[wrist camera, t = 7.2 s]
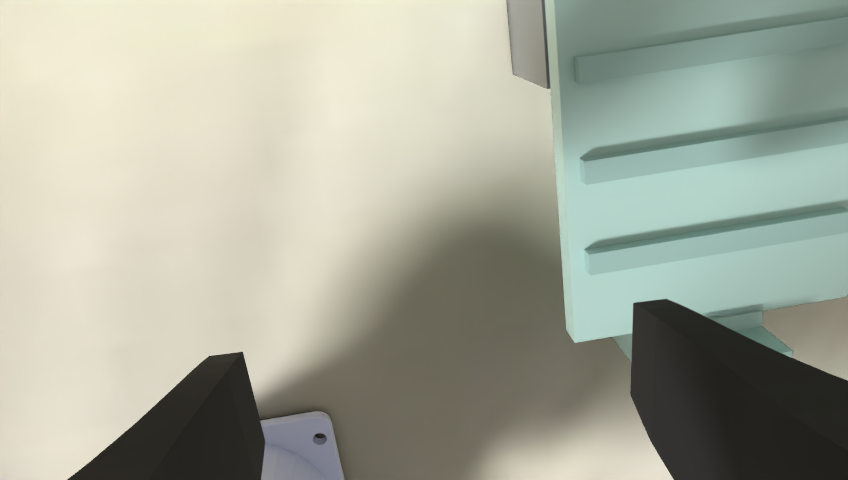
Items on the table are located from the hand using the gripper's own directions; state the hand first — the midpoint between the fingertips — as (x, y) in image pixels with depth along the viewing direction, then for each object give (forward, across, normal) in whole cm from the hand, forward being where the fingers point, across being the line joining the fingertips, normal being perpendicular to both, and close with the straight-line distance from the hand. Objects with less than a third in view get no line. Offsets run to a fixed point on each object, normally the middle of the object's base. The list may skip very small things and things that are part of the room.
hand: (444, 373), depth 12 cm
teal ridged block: (+10, -8, 0) cm, 12 cm away
